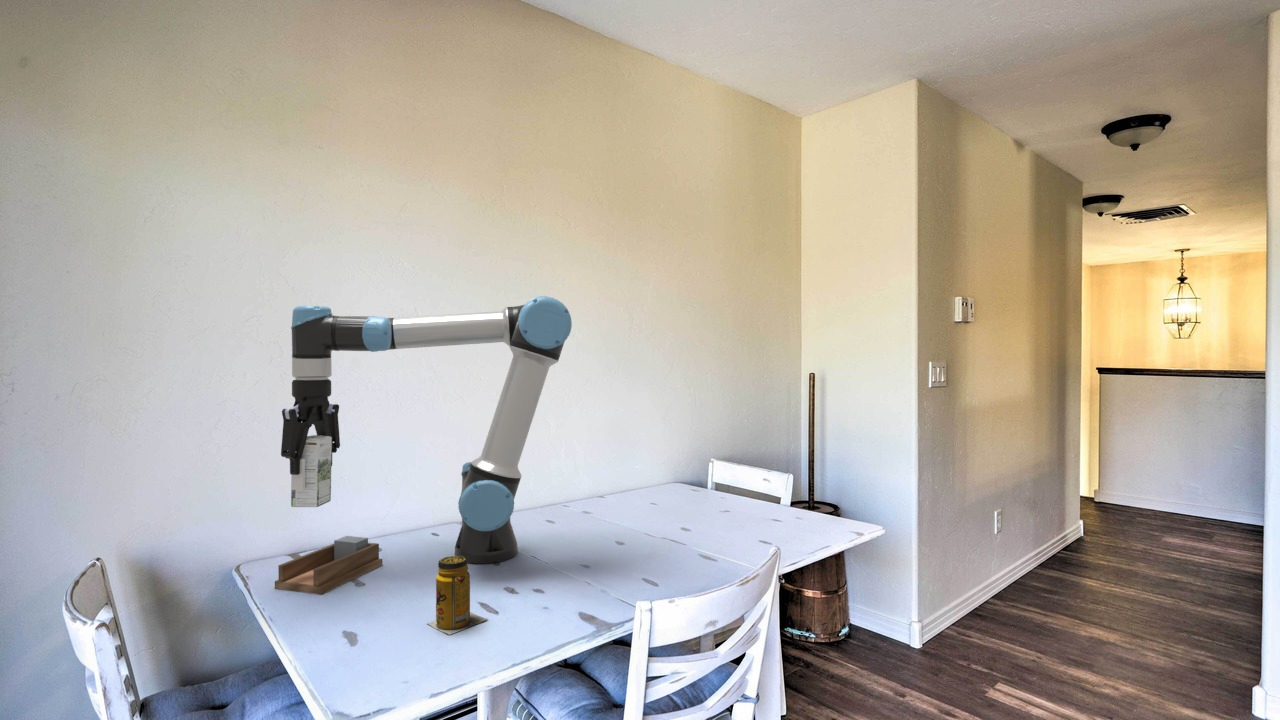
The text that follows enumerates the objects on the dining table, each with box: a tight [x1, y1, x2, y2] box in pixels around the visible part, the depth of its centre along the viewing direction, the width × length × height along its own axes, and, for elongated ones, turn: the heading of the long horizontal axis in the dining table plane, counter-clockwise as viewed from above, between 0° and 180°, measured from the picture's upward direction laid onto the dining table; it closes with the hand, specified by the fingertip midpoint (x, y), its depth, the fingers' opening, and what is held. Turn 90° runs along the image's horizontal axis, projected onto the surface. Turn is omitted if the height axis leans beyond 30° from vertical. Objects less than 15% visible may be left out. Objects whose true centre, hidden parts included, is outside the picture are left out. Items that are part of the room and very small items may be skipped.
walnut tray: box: [274, 542, 383, 596], centre depth 144 cm, size 12×19×5 cm, turn 164°
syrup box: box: [290, 434, 332, 508], centre depth 138 cm, size 6×6×14 cm
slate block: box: [333, 535, 369, 561], centre depth 150 cm, size 6×4×5 cm, turn 74°
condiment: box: [426, 555, 488, 636], centre depth 120 cm, size 7×8×12 cm
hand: (311, 485), depth 138 cm, fingers closed on syrup box, 7 cm apart
